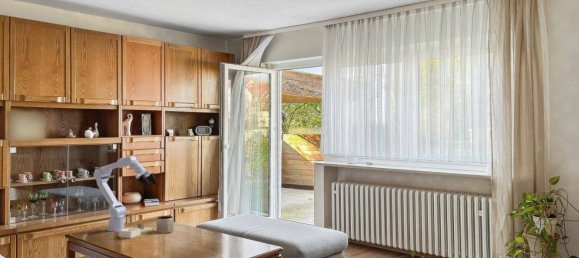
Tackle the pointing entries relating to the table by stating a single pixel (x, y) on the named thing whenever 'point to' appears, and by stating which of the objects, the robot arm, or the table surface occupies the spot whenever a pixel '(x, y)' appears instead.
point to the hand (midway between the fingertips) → (152, 184)
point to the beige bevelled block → (130, 233)
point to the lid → (143, 229)
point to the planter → (164, 224)
